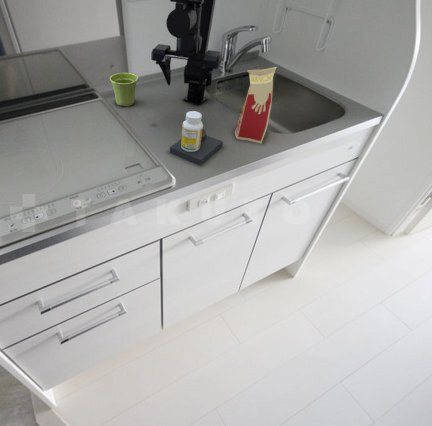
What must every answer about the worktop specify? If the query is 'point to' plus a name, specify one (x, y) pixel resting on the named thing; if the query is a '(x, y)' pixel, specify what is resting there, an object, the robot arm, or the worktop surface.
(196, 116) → the supplement bottle
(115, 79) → the plant pot
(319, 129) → the worktop surface
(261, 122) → the red snack bag
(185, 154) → the scale
